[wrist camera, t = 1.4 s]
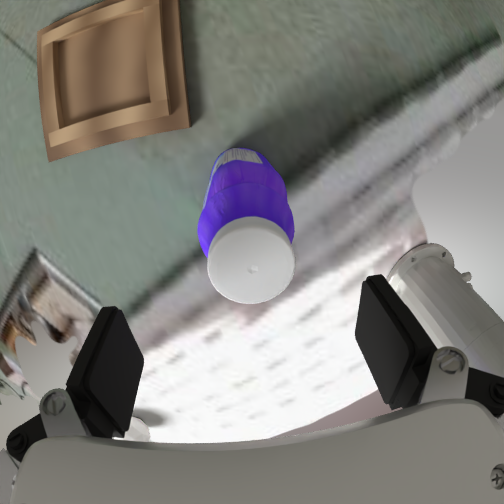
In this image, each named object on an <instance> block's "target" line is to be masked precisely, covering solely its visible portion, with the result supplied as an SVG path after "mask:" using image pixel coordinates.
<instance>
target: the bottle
mask: <svg viewBox="0 0 504 504" xmlns="http://www.w3.org/2000/svg"><path fill="white" fill-rule="evenodd" d="M294 232H295V231H294V221H293V215H292V212H291V209H290V207H289V205H288V202H287V192H286V187H285V184H284V181H283V179H282V177H281V176H280V175H279V173H278V172H277V171H276V170H275V169H274V168H273V167H272V165H271V164H270V163H269V162H268V160H267V159H266V158H265V157H264V156H263V155H262V154H261V153H259V152H256V151H253V150H251V149H247V148H232V149H228V150H226V151H224V152H223V153H221V154H220V156H219V157H218V158H217V160H216V161H215V164H214V166H213V169H212V172H211V176H210V182H209V185H208V188H207V191H206V194H205V198H204V203H203V210H202V213H201V216H200V218H199V222H198V237H199V241H200V245H201V247H202V249H203V252H204V254H205V256H206V257H207V258H208V274H209V278H210V280H211V282H212V284H213V285H214V287H215V288H216V290H217V291H218V292H219V293H220V294H222V295H223V296H224V297H226V298H228V299H230V300H232V301H235V302H239V303H245V304H256V303H261V302H265V301H268V300H270V299H272V298H274V297H276V296H277V295H279V294H280V293H281V292H282V291H283V290H284V289H285V288H286V287H287V286H288V285H289V283H290V282H291V280H292V278H293V276H294V273H295V267H296V260H295V255H294V251H293V249H292V246H291V244H292V240H293V237H294Z"/></svg>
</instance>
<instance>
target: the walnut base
mask: <svg viewBox="0 0 504 504" xmlns="http://www.w3.org/2000/svg"><path fill="white" fill-rule="evenodd" d="M37 69H38V88H39V100H40V109H41V118H42V125H43V132H44V138H45V144H46V150H47V155H48V160H49V162H51V161H54V160H57V159H60V158H63V157H66V156H70V155H73V154H76V153H79V152H83V151H86V150H90V149H93V148H97V147H100V146H104V145H108V144H112V143H116V142H120V141H124V140H128V139H133V138H137V137H142V136H147V135H151V134H156V133H162V132H167V131H172V130H178V129H184V128H190V127H192V126H191V118H190V110H189V101H188V92H187V83H186V73H185V62H184V51H183V40H182V27H181V13H180V0H106V1H103V2H100V3H98V4H95V5H93V6H90V7H88V8H85V9H83V10H80V11H78V12H76V13H74V14H71V15H69V16H67V17H65V18H63V19H61V20H59V21H57V22H55V23H53V24H51V25H49V26H47V27H45V28H43V29H41V30H40V31H38V32H37Z"/></svg>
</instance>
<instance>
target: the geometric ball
mask: <svg viewBox="0 0 504 504" xmlns="http://www.w3.org/2000/svg"><path fill="white" fill-rule="evenodd" d="M114 439H118V440H128V441H140V442H149V440H150V433H149V429H148V426H147V425H146V424H145V423H144V422H143V421H142V420H141V419H138V418H136V417H133V416H132V417H131V422H130V427H129V430H128V431H127V432H125V436H124V438H117V437H114Z"/></svg>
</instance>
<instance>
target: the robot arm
mask: <svg viewBox="0 0 504 504" xmlns="http://www.w3.org/2000/svg"><path fill="white" fill-rule="evenodd" d="M470 280H471V274H470V272H466V273H463V274H461V273H459V272H458V271H457V270H456V269H455V268H454V261H453V258H452V255H451V254H450V253H449V251H448V250H447V249H445V248H444V247H443V246H441V245H439V244H434V243H430V244H424V245H421V246H418V247H416V248H414V249H413V250H411V251H410V252H408V253H407V254H406V255H404V256H403V257H402V258H401V259H400V260H399V261H398V262H397V264H396V265H395V266H394V268H393V269H392V270H391V272H390V274H389V276H388V277H387V280H386V279H385V277H384V276H383V275H381V274H379V275H373V276H368V277H367V278H366V281H363V283H362V289H361V297H360V304H359V310H358V317H357V323H356V329H355V338H356V341H357V343H358V345H359V347H360V349H361V351H362V354H363V356H364V358H365V360H366V362H367V365H368V367H369V369H370V371H371V373H372V376H373V378H374V380H375V382H376V385H377V387H378V389H379V391H380V394H381V396H382V398H383V401H384V403H385V404H389V405H390V408H391V410H394V409H397V408H400V407H402V408H403V409H401V410H398V411H395V412H392V413H389V414H385V415H382V416H378V417H375V418H371V419H367V420H363V421H359V422H356V423H352V424H348V425H344V426H339V427H335V428H331V429H326V430H321V431H316V432H310V433H305V434H299V435H293V436H287V437H279V438H271V439H262V440H252V441H241V442H225V443H155V442H140V441H128V440H118V439H112V437H117V438H124V436H125V432H127V431H128V430H129V427H130V422H131V417H132V413H133V408H134V404H135V399H136V395H137V390H138V386H139V382H140V378H141V374H142V370H143V366H144V358H143V355H142V353H141V351H140V349H139V347H138V345H137V343H136V341H135V339H134V336H133V334H132V332H131V330H130V328H129V326H128V323H127V321H126V319H125V317H124V314H123V312H122V311H121V310H118V308H117V307H116V306H111V307H102V308H101V310H100V312H99V314H98V316H97V318H96V320H95V322H94V324H93V326H92V328H91V330H90V332H89V334H88V336H87V338H86V340H85V342H84V344H83V346H82V349H81V351H80V353H79V355H78V357H77V359H76V362H75V364H74V366H73V368H72V371H71V373H70V376H69V378H68V380H67V383H66V385H67V388H66V390H64V389H60V388H58V389H53V390H50V391H49V392H48V393H46V394H45V395H44V397H42V399H41V401H40V405H39V410H40V414H38V415H37V416H35V417H33V418H32V419H30V420H29V421H27V422H25V423H24V424H22V425H20V426H19V427H17V428H16V429H14V430H13V431H12V432H11V433H10V434H9V436H8V438H7V443H6V446H7V450H5V449H4V448H3V449H2V450H1V451H0V504H504V322H503V320H502V319H501V318H500V317H499V316H498V315H497V314H496V313H495V312H494V310H493V309H492V308H491V307H490V306H489V305H488V304H487V303H486V302H485V301H484V300H483V299H482V298H481V297H480V296H479V295H478V294H477V293H476V292H475V291H474V290H473V287H472V285H471V284H470V283H466V282H467V281H470Z"/></svg>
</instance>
